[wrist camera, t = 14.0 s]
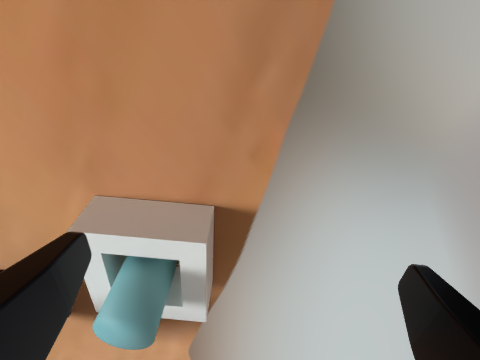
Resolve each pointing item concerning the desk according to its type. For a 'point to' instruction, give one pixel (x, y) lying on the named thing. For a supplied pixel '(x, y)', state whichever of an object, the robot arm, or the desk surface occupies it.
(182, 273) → the socket
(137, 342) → the peg
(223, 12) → the desk surface
